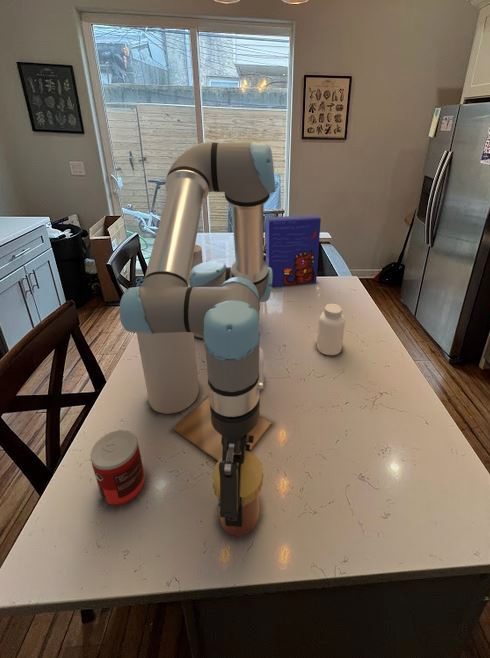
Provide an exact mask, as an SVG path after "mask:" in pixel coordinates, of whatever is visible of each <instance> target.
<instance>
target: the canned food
mask: <svg viewBox="0 0 490 658" xmlns="http://www.w3.org/2000/svg"><path fill="white" fill-rule="evenodd" d="M90 462H91V466H92V470H93V473H94V476H95V480H96V483H97V487H98V489H99V492H100V496H101V498H102V499H103V501H104V502H106V503H107V504H108V505H111V506H122V505H125V504H127V503H130V502H131V501H133V500H134V499H135V498H137V496H138V495H139V494H140V492H141V491H142V489H143V486H144V484H145V478H146V476H145V470H144V465H143V461H142V455H141V450H140V447H139V441H138V438H137V435H136V434H135V433H134V432H132V431H130V430H128V429H118V430H113V431H110V432H108V433H107V434H104V435H103V436H102V437H101V438H99V439H98V440H97V441H96V442H95V443H94V445H93V447H92V448H91V452H90Z"/></svg>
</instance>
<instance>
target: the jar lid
mask: <svg viewBox="0 0 490 658" xmlns="http://www.w3.org/2000/svg"><path fill="white" fill-rule="evenodd" d="M238 454H241V452H240V453H238ZM220 461H222V458H221V459H220V460H219V461H218V462H217V461H216V464H215V466H214V468H213V472H212V489H213V491H214V495H215V497H216V498H217V499H218V501H219V500H220V473H219V464H220ZM263 481H264V470H263V464H262V462H261V460H260V459H259V457H258V456H257V455H256V454H254V453H253V452H251V451H250V452H249V451H246V450H245V459H244V463H243V464H242V467H241V488H240V497H242V506H244V505H246V504H248V503H251V501H253V500H254V499H255V498H256V497H257V495H258V494H259V495H260V493H261V490H262V488H263V485H264V484H263Z"/></svg>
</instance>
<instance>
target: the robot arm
mask: <svg viewBox="0 0 490 658" xmlns="http://www.w3.org/2000/svg"><path fill="white" fill-rule="evenodd" d="M165 178H166V179H165V183H164V186H165V190H166V196H165V201H164V204H163V208H162V212H161V215H160V219H159V223H158V226H157V230H156V234H155V238H154V241H153V246H152V248H151V253H150V255H149V256H150V257H149V260H148V264H147V268H146V271H145V274H144V279H143V283H142V285H141V286H139V285H138V286H136V287H129V288H127V289H126V290H125V292H124V293H123V294H122V295H121V299H120V302H119V311H118V312H119V320H120V323H121V326H122V327H123V329H124V330H125V331H126V332H128V333H135V334H137V333H147V334H154V333H174V332H188V333H189V332H192V333H193V334H194V338H196V339H200V340H203V342H204V350H205V360H206V370H207V389H208V391H207V392H208V397H209V403H210V412H211V422H212V425H213V427H214V429H215V430H216V431H217V432H218V433H219V434H220V435H222V438H221V444H222V446H223V451H222V461H220V464H219V473H220V500H219V499H218V504H217V507H219V506H220V511H219V518H220V517H225V524H226V526H235V527H242V523H243V518H242V497H240V488H241V467H242V464H243V463H244V459H245V450H246V451H249V452H251V451H250V444H247V443H253V442H254V436H250V434H249V432H251V431H252V430H253V429H254V428H255V426H256V425H257V423H258V421H259V417H261V415H260V414H261V411H260V410H261V409H260V407H261V405H260V404H261V403H260V402H261V401H260V391H262V390H263V389H264V385H265V384H264V382H263V383H259V347H260V341H261V323H260V312H261V303H265V302H268V301H269V300H270V298H271V293H272V288H273V287H272V269H271V268H270V267H268V266H267V263H266V260H264V247H265V246H264V243H265V242H264V234H265V233H264V230H265V229H264V226H265V223H264V221H265V220H264V219H265V215H264V214H265V213H264V212H265V203H267V202H268V201H269V199H270V194H273V193H275V192H276V180H275V179H276V178H275V169H274V160H273V152H272V149H271V147H270V145H268V144H266V143H259V142H254V141H250V142H218V141H217V142H214V141H205V142H200V143H197V144H195V145H193V146H191V147H190V148H188V149H187V150H185V151H183V152H182V154H180V155H179V156H178V157H177V159H175V161H174V162H173V163H172V165H171V166H170V168H169V170H168V172H167V175H166V177H165ZM209 193H224V198H225V200H226V202H227V203H228V204H230V205H231V218H232V219H231V220H232V232H233V243H234V244H233V245H234V257H235V261H234V262H233V264H232V265H231V266H230V267H229V266H228V267H227V264H226V263H225V262H223V261H220V260H209V261H204V262H203V263H201V264H199V265H197V266H195V267H194V268H193V269H192V270H191V267H192V261H193V255H194V249H195V245H196V242H197V236H198V231H199V224H200V219H201V212H202V206H203V201H205V200H206V199H207V197H208V196H209ZM189 279H190V281H189ZM240 452H241V454H238V453H240Z"/></svg>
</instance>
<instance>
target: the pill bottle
mask: <svg viewBox="0 0 490 658" xmlns="http://www.w3.org/2000/svg"><path fill="white" fill-rule="evenodd" d="M318 317H319V318H318V328H317V337H316V338H317V339H316V348H317V350H318V351H319V352H320V353H321V354H324V355H327V356H336V355H338V354H340V353H341V352H342V350H343V349H342V348H343V341H344V335H345V328H346V327H345V326H346V318H345V315H344V314H343V308H342V306H341V305H339V304H337V303H328V304H325V306H324V310H323V312H321V314H320V315H319V316H318Z"/></svg>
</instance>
